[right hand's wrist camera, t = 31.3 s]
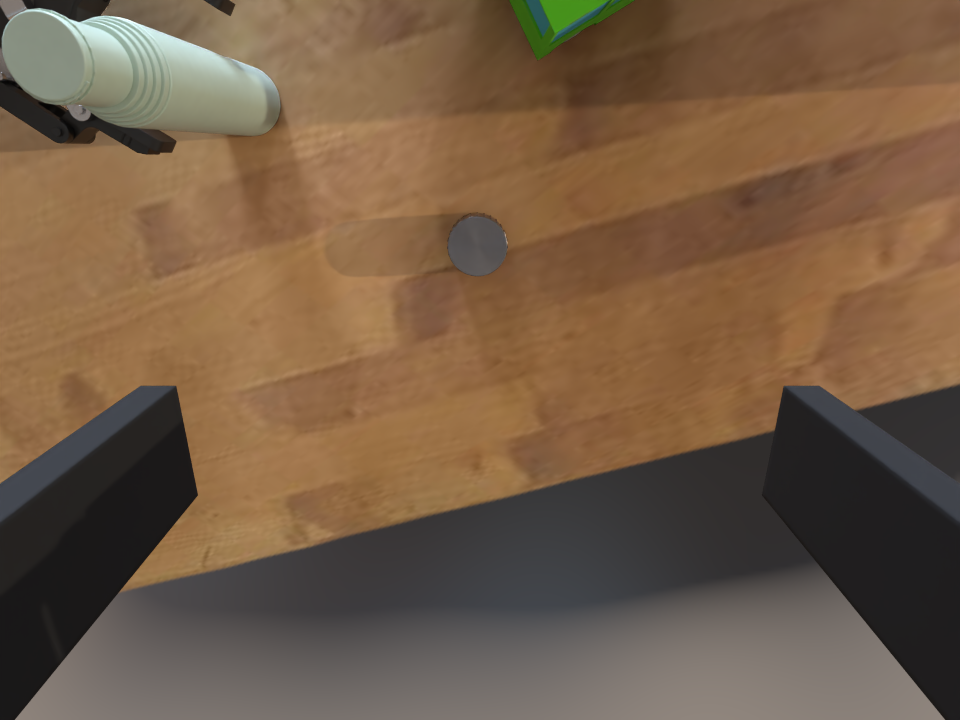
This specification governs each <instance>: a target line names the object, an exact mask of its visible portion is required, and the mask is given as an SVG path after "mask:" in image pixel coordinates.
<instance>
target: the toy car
mask: <svg viewBox="0 0 960 720" xmlns="http://www.w3.org/2000/svg"><path fill="white" fill-rule="evenodd" d="M509 1H510V3H511V5H512V8H513V10H514V12H515V14H516V16H517V18H518V20H519V22H520V24H521V27H522V29H523V31H524V33H525V35H526V37H527V39H528V41H529V43H530V46H531V48H532V50H533V52H534V54H535V56H536V58H537V60H539V59H541V58H542V57H544V56H546V55H547V54H549V53H551V51H552V50H553V49H554V48H556V47H557V46H559V45H560V44H562V43H564V42H566V41H568V40H570V39H571V38H573V37H574V36H576V35H577V34H579V33H580V32H581V31H582V30H584V29H585V28H587V27H588V26H590V25H592V24H594V25H596V24H597V23H599V22H601V21H602V20H604V19H605V18H607V17H609V16H610V15H612V14H614V13H615V12H617V11H618V10H620V9H622V8H623V7H625V6H626V5H628V4H630V3H631V2H633V1H635V0H509Z"/></svg>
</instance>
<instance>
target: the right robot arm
mask: <svg viewBox="0 0 960 720" xmlns="http://www.w3.org/2000/svg"><path fill="white" fill-rule="evenodd" d="M197 496H198V493H197V488H196V483H195V478H194V473H193V468H192V463H191V458H190V453H189V448H188V443H187V438H186V433H185V428H184V423H183V418H182V413H181V408H180V403H179V398H178V393H177V388H176V386H140V387H138V388H137V389H136V390H134V391H133V392H131V393H130V394H128V395H127V396H125V397H124V398H123V399H121V400H120V401H118V402H117V403H115V404H114V405H113V406H111V407H110V408H108V409H107V410H105V411H104V412H103V413H101V414H100V415H98V416H97V417H95V418H94V419H92V420H91V421H90V422H88V423H87V424H85V425H84V426H82V427H81V428H80V429H78V430H77V431H75V432H74V433H72V434H71V435H69V436H68V437H67V438H65V439H64V440H62V441H61V442H59V443H58V444H57V445H55V446H54V447H52V448H51V449H49V450H48V451H47V452H45V453H44V454H42V455H41V456H39V457H38V458H36V459H35V460H34V461H32V462H31V463H29V464H28V465H26V466H25V467H24V468H22V469H21V470H19V471H18V472H16V473H15V474H13V475H12V476H11V477H9V478H8V479H6V480H5V481H3V482H2V483H1V484H0V720H15V719H16V718H17V716H18V715H19V714H20V713H21V711H22V710H23V709H24V708H25V706H26V705H27V704H28V703H29V702H30V700H31V699H32V698H33V697H34V695H35V694H36V693H37V692H38V691H39V689H40V688H41V687H42V686H43V684H44V683H45V682H46V681H47V679H48V678H49V677H50V676H51V675H52V673H53V672H54V671H55V670H56V669H57V667H58V666H59V665H60V664H61V662H62V661H63V660H64V659H65V657H66V656H67V655H68V654H69V653H70V651H71V650H72V649H73V648H74V646H75V645H76V644H77V643H78V642H79V640H80V639H81V638H82V637H83V635H84V634H85V633H86V632H87V631H88V629H89V628H90V627H91V626H92V624H93V623H94V622H95V621H96V620H97V618H98V617H99V616H100V615H101V613H102V612H103V611H104V610H105V608H106V607H107V606H108V605H109V604H110V602H111V601H112V600H113V599H114V597H115V596H116V595H117V594H118V593H119V591H120V590H121V589H122V588H123V586H124V585H125V584H126V583H127V582H128V580H129V579H130V578H131V577H132V575H133V574H134V573H135V572H136V571H137V569H138V568H139V567H140V566H141V564H142V563H143V562H144V561H145V559H146V558H147V557H148V556H149V555H150V553H151V552H152V551H153V550H154V548H155V547H156V546H157V545H158V544H159V542H160V541H161V540H162V539H163V537H164V536H165V535H166V534H167V533H168V531H169V530H170V529H171V528H172V526H173V525H174V524H175V523H176V522H177V520H178V519H179V518H180V517H181V515H182V514H183V513H184V512H185V510H186V509H187V508H188V507H189V506H190V504H191V503H192V502H193V501H194V499H195V498H196V497H197ZM762 496H763V497H764V498H765V499H766V501H767V502H768V503H769V504H770V506H771V507H772V508H773V509H774V510H775V512H776V513H777V514H778V515H779V517H780V518H781V519H782V520H783V521H784V523H785V524H786V525H787V526H788V528H789V529H790V530H791V531H792V533H793V534H794V535H795V536H796V537H797V539H798V540H799V541H800V542H801V544H802V545H803V546H804V547H805V548H806V550H807V551H808V552H809V553H810V555H811V556H812V557H813V558H814V559H815V561H816V562H817V563H818V564H819V566H820V567H821V568H822V569H823V571H824V572H825V573H826V574H827V575H828V577H829V578H830V579H831V580H832V582H833V583H834V584H835V585H836V586H837V588H838V589H839V590H840V591H841V593H842V594H843V595H844V596H845V597H846V599H847V600H848V601H849V602H850V604H851V605H852V606H853V607H854V609H855V610H856V611H857V612H858V613H859V615H860V616H861V617H862V618H863V620H864V621H865V622H866V623H867V624H868V626H869V627H870V628H871V629H872V631H873V632H874V633H875V634H876V635H877V637H878V638H879V639H880V640H881V641H882V643H883V644H884V645H885V646H886V648H887V649H888V650H889V651H890V653H891V654H892V655H893V656H894V657H895V659H896V660H897V661H898V662H899V664H900V665H901V666H902V667H903V669H904V670H905V671H906V672H907V673H908V675H909V676H910V677H911V678H912V680H913V681H914V682H915V683H916V684H917V686H918V687H919V688H920V689H921V691H922V692H923V693H924V694H925V695H926V697H927V698H928V699H929V700H930V702H931V703H932V704H933V705H934V706H935V708H936V709H937V710H938V711H939V713H940V714H941V715H942V716H943V718H944V719H945V720H960V484H959V483H958V482H957V481H955V480H954V479H952V478H951V477H949V476H948V475H946V474H945V473H944V472H942V471H941V470H939V469H938V468H936V467H935V466H934V465H932V464H931V463H929V462H928V461H926V460H925V459H924V458H922V457H921V456H919V455H918V454H916V453H915V452H913V451H912V450H911V449H909V448H908V447H906V446H905V445H903V444H902V443H901V442H899V441H898V440H896V439H895V438H893V437H892V436H891V435H889V434H888V433H886V432H885V431H883V430H882V429H880V428H879V427H877V426H876V425H875V424H873V423H872V422H870V421H869V420H868V419H866V418H865V417H863V416H862V415H860V414H859V413H857V412H856V411H855V410H853V409H852V408H850V407H849V406H847V405H846V404H845V403H843V402H842V401H840V400H839V399H837V398H836V397H835V396H833V395H832V394H830V393H829V392H827V391H826V390H824V389H823V388H822V387H820V386H784V388H783V393H782V398H781V403H780V408H779V413H778V418H777V423H776V428H775V433H774V438H773V443H772V448H771V453H770V458H769V463H768V468H767V473H766V478H765V483H764V488H763V493H762Z"/></svg>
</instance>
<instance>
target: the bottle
mask: <svg viewBox="0 0 960 720" xmlns="http://www.w3.org/2000/svg"><path fill="white" fill-rule="evenodd" d="M2 52H3V57H4V61H5V63H6V66H7V68H8V70H9V72H10V73H11V75H12V76H13V78H14V79H15V81H16V82H17V83H18V84H19V85H20V86H21V88H22V89H23V90H24V91H25V92H27V93H28V94H30V95H31V96H32V97H33V98H35V99H38V100H40V101H42V102H44V103H49V104H55V105H62V106H64V105H74V104H76V105H82V106H83V107H85V108H86V109H87V110H89V111H90V112H91V113H93V114H94V115H95V116H97V117H98V118H100V119H102V120H104V121H106V122H109V123H112V124H115V125H117V126H121V127H128V128H141V129H155V130H169V131H184V132H198V133H213V134H227V135H241V136H258V135H262V134H264V133H266V132H268V131H269V130H270V129H271V128H272V127H273V126H274V125H275V123H276V122H277V120H278V117H279V114H280V97H279V93H278V91H277V88H276V86H275V85H274V83H273V82H272V80H271V79H270V78H269V77H268V76H267V75H266V74H265V73H264V72H262V71H261V70H259V69H257V68H254V67H252V66H249V65H247V64H244V63H241V62H239V61H236V60H233V59H231V58H228V57H225V56H223V55H220V54H218V53H215V52H212V51H210V50H207V49H204V48H202V47H199V46H196V45H194V44H191V43H188V42H186V41H183V40H180V39H178V38H175V37H173V36H170V35H167V34H165V33H162V32H159V31H157V30H154V29H151V28H149V27H146V26H143V25H141V24H138V23H136V22H133V21H130V20H128V19H124V18H120V17H113V16H98V17H93V18H90V19H87V20H85V21H82V22H76V21H73V20H70V19H68V18H67V17H65V16H63V15H61V14H59V13H57V12H54V11H52V10H46V9H41V8H37V9H29V10H26V11H24V12H21V13H19V14H17V15H15V16H14V17H13V18H12V19H11V20H10V21H9V22H8V24H7V25H6V27H5V29H4V32H3V36H2Z"/></svg>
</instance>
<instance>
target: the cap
mask: <svg viewBox="0 0 960 720" xmlns="http://www.w3.org/2000/svg"><path fill="white" fill-rule="evenodd" d="M449 235H450V236H449V238H448V247H447V249H448V252H449V256H450V258H451V261H452V262H453V264H454V265H455V266H456V267H457V268H458V269H459V270H460V271H462V272H463V273H465V274H468V275H471V276H484V275H487V274H490V273H492V272H493V271H495V270H496V269H497V268H498V267H499V266H500V265H501V264H502V262H503V261H504V259H505V256H506V253H507V248H508V246H507V238H506V236H505V231H504V230H503V229H502V226H501V224H499V223H498V222H497V220H496V219H494V218H492V217H491V216H489V215H486V214H485V213H483V214H481V213H478V212H477V213H474V214H471V213H470V214H469V215H466V216H463V218H461V219H460V220H458V222H457V223H456V224H455V225H453V229H452V231H450V234H449Z"/></svg>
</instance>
